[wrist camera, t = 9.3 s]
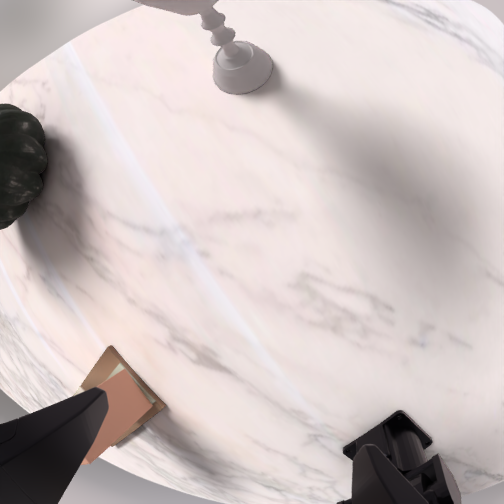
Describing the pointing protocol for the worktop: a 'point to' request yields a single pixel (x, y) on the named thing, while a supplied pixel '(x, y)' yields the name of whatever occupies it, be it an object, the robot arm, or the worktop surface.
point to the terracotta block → (118, 412)
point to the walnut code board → (109, 367)
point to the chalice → (224, 47)
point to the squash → (19, 162)
